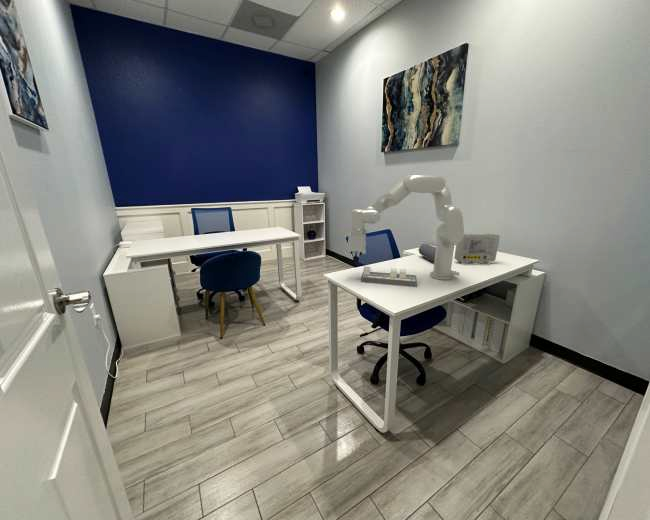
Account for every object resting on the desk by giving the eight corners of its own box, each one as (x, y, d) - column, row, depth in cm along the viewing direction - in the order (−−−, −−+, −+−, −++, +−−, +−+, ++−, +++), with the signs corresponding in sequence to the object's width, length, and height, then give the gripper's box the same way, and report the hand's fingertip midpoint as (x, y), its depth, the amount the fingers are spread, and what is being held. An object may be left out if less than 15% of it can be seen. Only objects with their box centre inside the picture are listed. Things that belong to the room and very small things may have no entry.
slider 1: (370, 272, 162) (370, 266, 161) (369, 275, 158) (369, 269, 157) (364, 271, 163) (364, 266, 162) (363, 274, 159) (363, 269, 158)
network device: (489, 261, 192) (495, 232, 186) (496, 265, 184) (502, 235, 178) (452, 261, 193) (456, 232, 187) (457, 265, 185) (462, 235, 179)
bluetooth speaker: (448, 265, 184) (450, 250, 181) (435, 266, 182) (437, 251, 179) (428, 255, 205) (430, 242, 202) (417, 256, 203) (418, 243, 200)
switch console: (415, 280, 159) (416, 274, 158) (416, 286, 150) (417, 281, 149) (363, 275, 166) (363, 270, 165) (361, 281, 157) (361, 276, 156)
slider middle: (396, 274, 159) (397, 268, 158) (396, 277, 154) (396, 271, 153) (390, 274, 160) (390, 268, 159) (390, 277, 155) (390, 271, 154)
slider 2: (405, 275, 158) (406, 269, 157) (405, 278, 153) (406, 272, 152) (399, 274, 159) (399, 269, 157) (399, 277, 154) (399, 271, 153)
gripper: (371, 231, 156) (369, 262, 162) (345, 229, 160) (344, 259, 165) (370, 233, 149) (368, 266, 155) (343, 232, 153) (341, 263, 158)
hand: (355, 262), depth 160 cm, fingers closed
